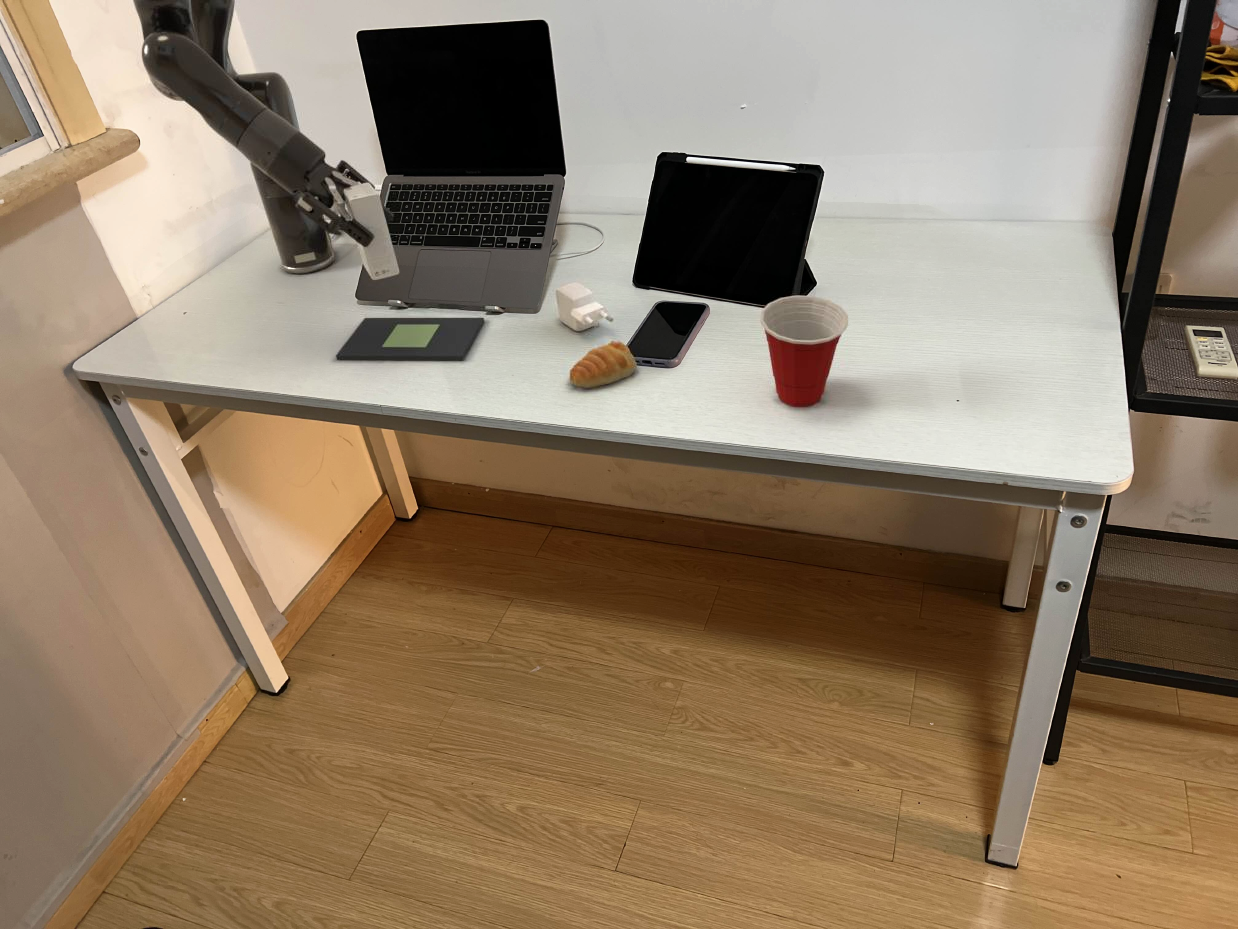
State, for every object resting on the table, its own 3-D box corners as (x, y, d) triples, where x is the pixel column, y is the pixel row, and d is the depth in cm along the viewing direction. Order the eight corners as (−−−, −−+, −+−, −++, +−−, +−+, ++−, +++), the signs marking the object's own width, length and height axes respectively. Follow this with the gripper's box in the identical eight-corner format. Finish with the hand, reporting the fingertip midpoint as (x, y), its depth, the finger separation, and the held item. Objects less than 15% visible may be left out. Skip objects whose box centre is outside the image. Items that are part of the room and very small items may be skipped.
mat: (366, 321, 149) (364, 316, 148) (484, 321, 145) (483, 316, 145) (337, 360, 139) (335, 354, 139) (463, 360, 136) (461, 355, 135)
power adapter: (620, 337, 137) (617, 302, 134) (593, 348, 136) (589, 313, 132) (581, 311, 145) (577, 277, 142) (555, 321, 143) (550, 287, 140)
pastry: (588, 397, 125) (585, 373, 123) (559, 380, 129) (556, 356, 127) (641, 371, 129) (639, 347, 127) (611, 355, 134) (609, 332, 131)
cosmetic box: (401, 274, 134) (382, 193, 126) (371, 282, 132) (349, 200, 125) (390, 259, 138) (371, 180, 131) (361, 266, 137) (340, 187, 130)
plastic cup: (787, 428, 115) (790, 345, 108) (743, 388, 123) (743, 308, 116) (859, 404, 118) (867, 321, 111) (812, 366, 126) (817, 287, 119)
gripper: (269, 149, 119) (375, 233, 124) (315, 115, 130) (411, 194, 135) (245, 190, 123) (349, 270, 128) (292, 153, 134) (385, 229, 139)
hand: (380, 231), depth 131 cm, fingers closed on cosmetic box, 7 cm apart
